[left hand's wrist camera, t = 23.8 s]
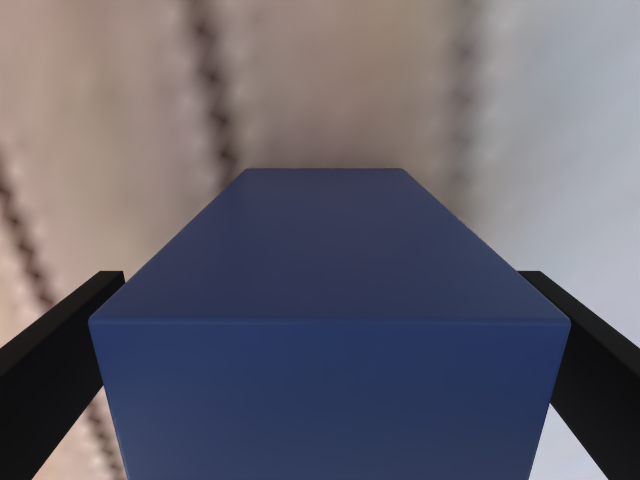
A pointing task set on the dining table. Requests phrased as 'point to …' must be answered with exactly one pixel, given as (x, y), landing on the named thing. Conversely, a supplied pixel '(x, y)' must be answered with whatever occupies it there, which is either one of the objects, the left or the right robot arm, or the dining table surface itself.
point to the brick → (328, 340)
